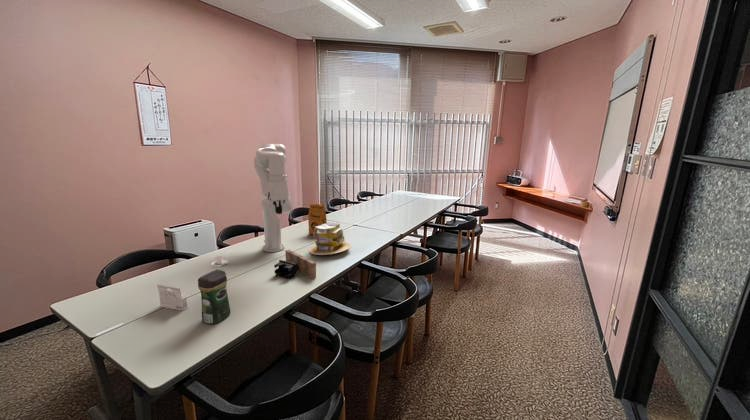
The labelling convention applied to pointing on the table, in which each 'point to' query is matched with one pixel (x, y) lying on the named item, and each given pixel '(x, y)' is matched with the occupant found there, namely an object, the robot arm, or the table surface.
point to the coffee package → (316, 216)
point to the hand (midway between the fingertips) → (278, 213)
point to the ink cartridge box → (172, 298)
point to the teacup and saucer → (219, 261)
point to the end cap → (286, 269)
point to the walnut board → (302, 263)
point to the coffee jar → (214, 296)
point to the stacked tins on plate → (329, 239)
